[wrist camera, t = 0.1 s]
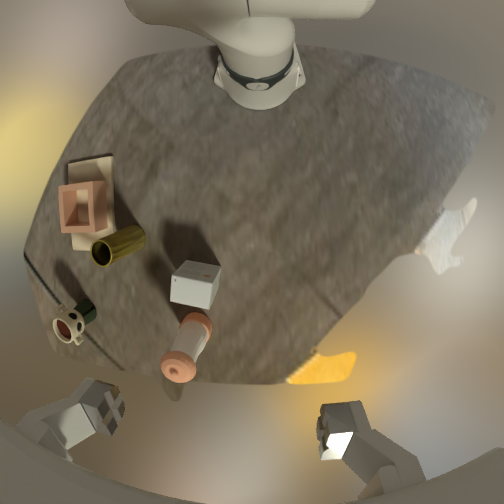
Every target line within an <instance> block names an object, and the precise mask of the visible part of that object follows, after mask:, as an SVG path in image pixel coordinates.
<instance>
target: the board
mask: <svg viewBox="0 0 504 504" xmlns="http://www.w3.org/2000/svg"><path fill="white" fill-rule="evenodd" d="M113 160H114V156H109V157H103V158H97V159H91V160H86V161H80V162H75V163H70V164H68V185H69V184H76V183H83V182H90V181H106V198H107V218H108V228H107V229H104V230H101V231H98V232H88V233H71V235H72V244H73V250H90V248H91V245H92V243H93V242H94V241H96V240H98V239H100V238H103V237H105V236H108V235H110V234H112V233H114V232H116V227H115V211H114V183H113ZM77 208H78V223H81V222H89V210H88V189H84V190H77Z"/></svg>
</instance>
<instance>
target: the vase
mask: <svg viewBox="0 0 504 504" xmlns="http://www.w3.org/2000/svg"><path fill="white" fill-rule="evenodd" d="M144 244H145V234H144V232H143V230H142V229H141V228H140V227H139V226H137V225H129V226H127V227H126V228H123V229H121V230H119V231H116V232H114V233H112V234H110V235H108V236H105V237H103V238H100V239H98V240H96V241H94V242H93V243H92V245H91V248H90V254H91V257H92V260H93V261H94V263H95V264H96V265H98V266H100V267H106V266H108V265H110V264H111V263H114V262H115V261H117V260H119V259H121V258H122V257H124V256H126V255H128V254H130V253H133V252H135V251H138V250H140V249H142V248H143V246H144Z"/></svg>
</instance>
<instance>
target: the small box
mask: <svg viewBox="0 0 504 504" xmlns="http://www.w3.org/2000/svg"><path fill="white" fill-rule="evenodd" d="M220 272H221V266H217V265H211V264H206V263H201V262H195V261H190V260H186V261H185V262H184V263H183V264H182V265H181V266H180V267H179V268H178V269H177V270H176V271H175V272H174V273H173V274H172V278H171V294H170V301H171V302H175V303H180V304H185V305H189V306H194V307H199V308H204V309H208V310H209V309H210V306H211V304H212V302H213V300H214V297H215V295H216V293H217V290H218V286H219V279H220Z"/></svg>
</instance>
